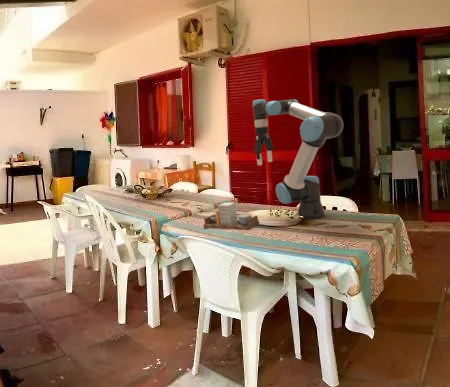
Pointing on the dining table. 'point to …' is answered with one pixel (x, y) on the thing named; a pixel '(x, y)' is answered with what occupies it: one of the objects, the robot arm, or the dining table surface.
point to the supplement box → (228, 214)
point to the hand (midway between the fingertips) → (265, 163)
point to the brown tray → (212, 223)
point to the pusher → (217, 217)
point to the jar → (244, 219)
